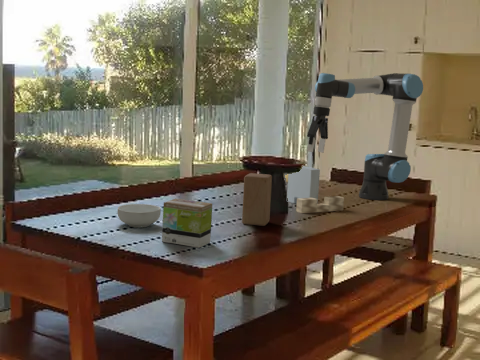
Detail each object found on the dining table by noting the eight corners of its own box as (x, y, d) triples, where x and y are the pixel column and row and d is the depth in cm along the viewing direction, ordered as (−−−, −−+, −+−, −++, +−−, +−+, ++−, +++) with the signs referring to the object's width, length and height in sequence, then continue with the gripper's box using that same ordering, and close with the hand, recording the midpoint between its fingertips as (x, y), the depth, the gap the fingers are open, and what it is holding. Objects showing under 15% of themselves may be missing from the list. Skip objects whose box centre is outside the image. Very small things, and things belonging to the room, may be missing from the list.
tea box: (161, 242, 259) (162, 201, 257) (173, 237, 268) (175, 197, 266) (199, 248, 254) (201, 206, 251) (211, 242, 263) (213, 202, 261)
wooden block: (265, 226, 295) (268, 177, 292) (241, 224, 297) (243, 175, 294) (269, 222, 305) (272, 174, 302) (246, 219, 307) (248, 172, 304)
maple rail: (337, 208, 344) (338, 196, 343) (343, 210, 341) (344, 197, 340) (296, 211, 331) (296, 198, 331) (301, 213, 328) (302, 200, 327)
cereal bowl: (121, 219, 294) (122, 202, 293) (162, 222, 294) (163, 204, 293) (113, 228, 277) (113, 210, 276) (156, 231, 277) (157, 212, 276)
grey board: (286, 201, 358) (288, 164, 355) (295, 200, 360) (297, 164, 358) (308, 207, 342) (311, 169, 340) (317, 207, 345) (319, 169, 342)
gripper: (324, 107, 354) (317, 151, 356) (304, 103, 332) (297, 150, 333) (338, 109, 350) (332, 153, 352) (320, 105, 328) (312, 152, 330)
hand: (315, 152), depth 343 cm, fingers open, 13 cm apart
